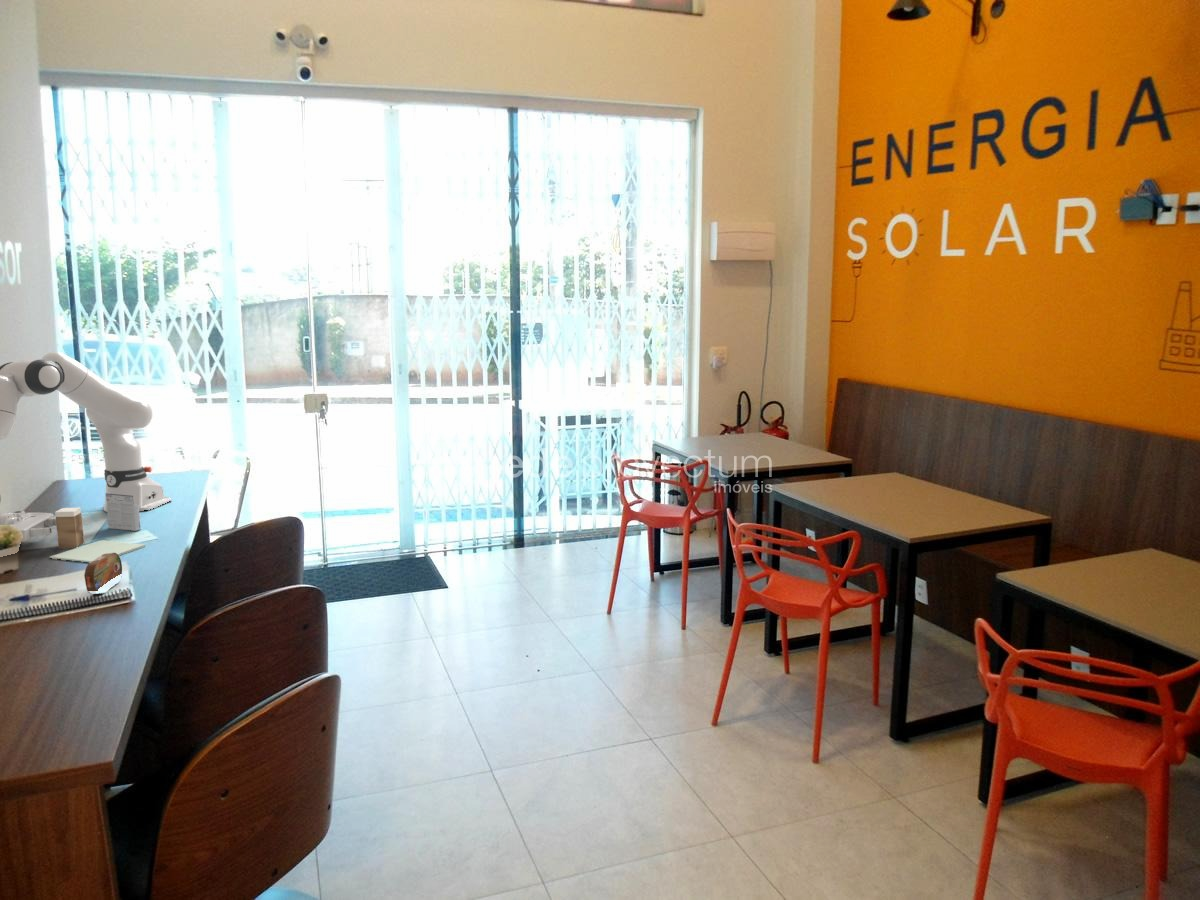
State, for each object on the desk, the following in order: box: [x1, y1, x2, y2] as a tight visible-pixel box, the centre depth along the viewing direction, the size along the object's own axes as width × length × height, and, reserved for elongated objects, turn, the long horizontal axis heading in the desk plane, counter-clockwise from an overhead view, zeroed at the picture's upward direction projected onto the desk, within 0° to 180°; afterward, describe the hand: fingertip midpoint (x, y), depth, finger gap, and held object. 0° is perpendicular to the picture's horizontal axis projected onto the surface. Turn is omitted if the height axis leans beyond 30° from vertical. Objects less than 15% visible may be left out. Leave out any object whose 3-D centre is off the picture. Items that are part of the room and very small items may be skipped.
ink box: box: [104, 492, 141, 532], centre depth 281 cm, size 12×2×12 cm, turn 71°
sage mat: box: [49, 539, 146, 563], centre depth 257 cm, size 18×16×1 cm
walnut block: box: [54, 507, 85, 549], centre depth 263 cm, size 5×5×11 cm
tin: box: [83, 553, 123, 592], centre depth 225 cm, size 15×3×8 cm, turn 5°
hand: (57, 526), depth 262 cm, fingers open, 8 cm apart
